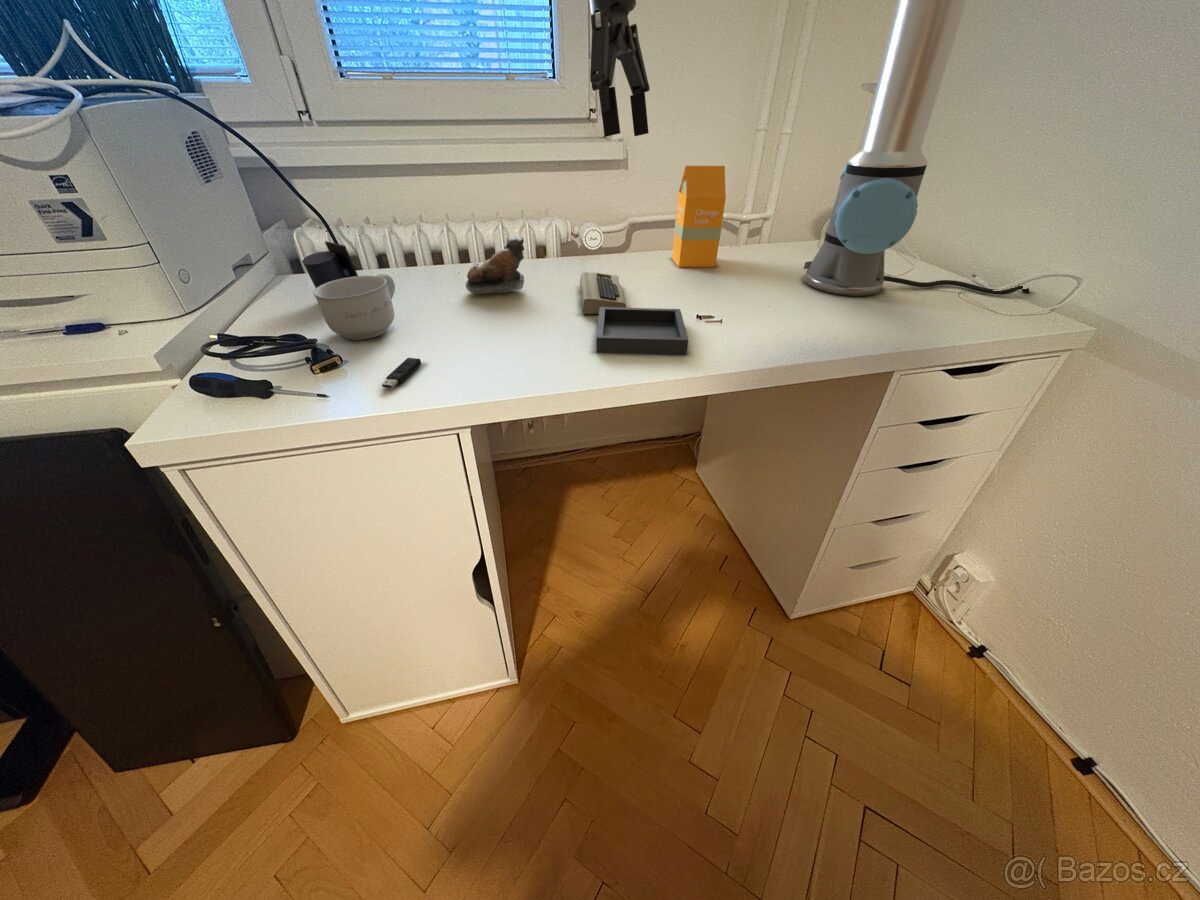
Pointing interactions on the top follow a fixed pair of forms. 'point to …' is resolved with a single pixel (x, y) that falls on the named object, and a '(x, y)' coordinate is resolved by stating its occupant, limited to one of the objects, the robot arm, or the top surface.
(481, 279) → the bison figurine
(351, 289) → the teacup
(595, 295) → the computer
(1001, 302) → the top surface
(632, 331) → the dark gray rectangular tray
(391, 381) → the usb flash drive
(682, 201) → the orange juice
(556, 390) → the top surface
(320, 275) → the speaker
